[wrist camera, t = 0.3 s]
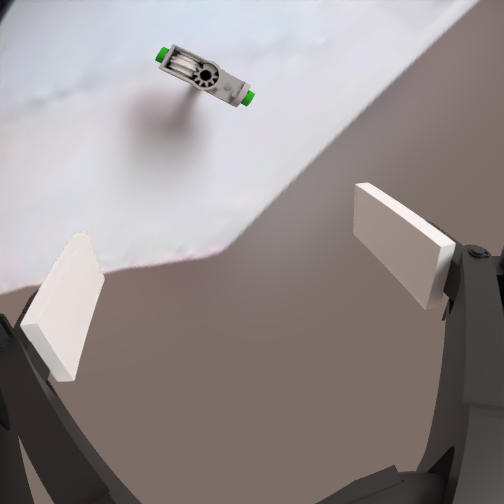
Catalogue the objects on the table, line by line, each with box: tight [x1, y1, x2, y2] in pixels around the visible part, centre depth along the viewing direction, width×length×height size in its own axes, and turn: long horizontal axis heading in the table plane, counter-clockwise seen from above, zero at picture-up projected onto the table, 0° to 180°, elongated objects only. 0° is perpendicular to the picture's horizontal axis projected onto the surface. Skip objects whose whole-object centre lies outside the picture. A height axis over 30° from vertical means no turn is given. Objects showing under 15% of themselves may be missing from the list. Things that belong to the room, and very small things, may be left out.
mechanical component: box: [155, 44, 255, 107], centre depth 30 cm, size 3×10×10 cm, turn 59°
